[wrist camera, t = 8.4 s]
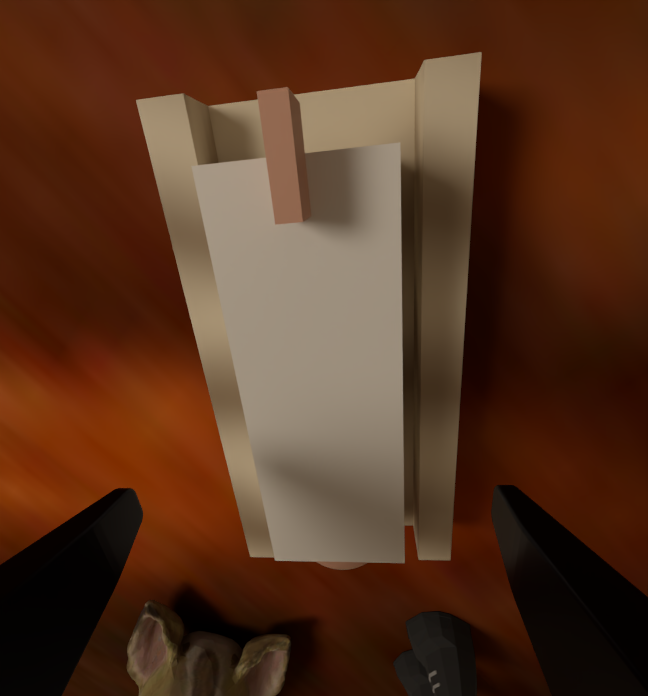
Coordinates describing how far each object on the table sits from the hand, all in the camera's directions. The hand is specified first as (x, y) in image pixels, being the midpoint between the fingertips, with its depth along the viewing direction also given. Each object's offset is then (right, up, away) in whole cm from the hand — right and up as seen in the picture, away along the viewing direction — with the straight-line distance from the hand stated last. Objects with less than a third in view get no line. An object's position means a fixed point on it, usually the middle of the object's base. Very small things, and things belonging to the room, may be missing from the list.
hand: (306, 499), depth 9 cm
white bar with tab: (+1, +4, +7) cm, 8 cm away
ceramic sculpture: (-8, -19, +19) cm, 28 cm away
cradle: (+1, +4, +8) cm, 9 cm away
